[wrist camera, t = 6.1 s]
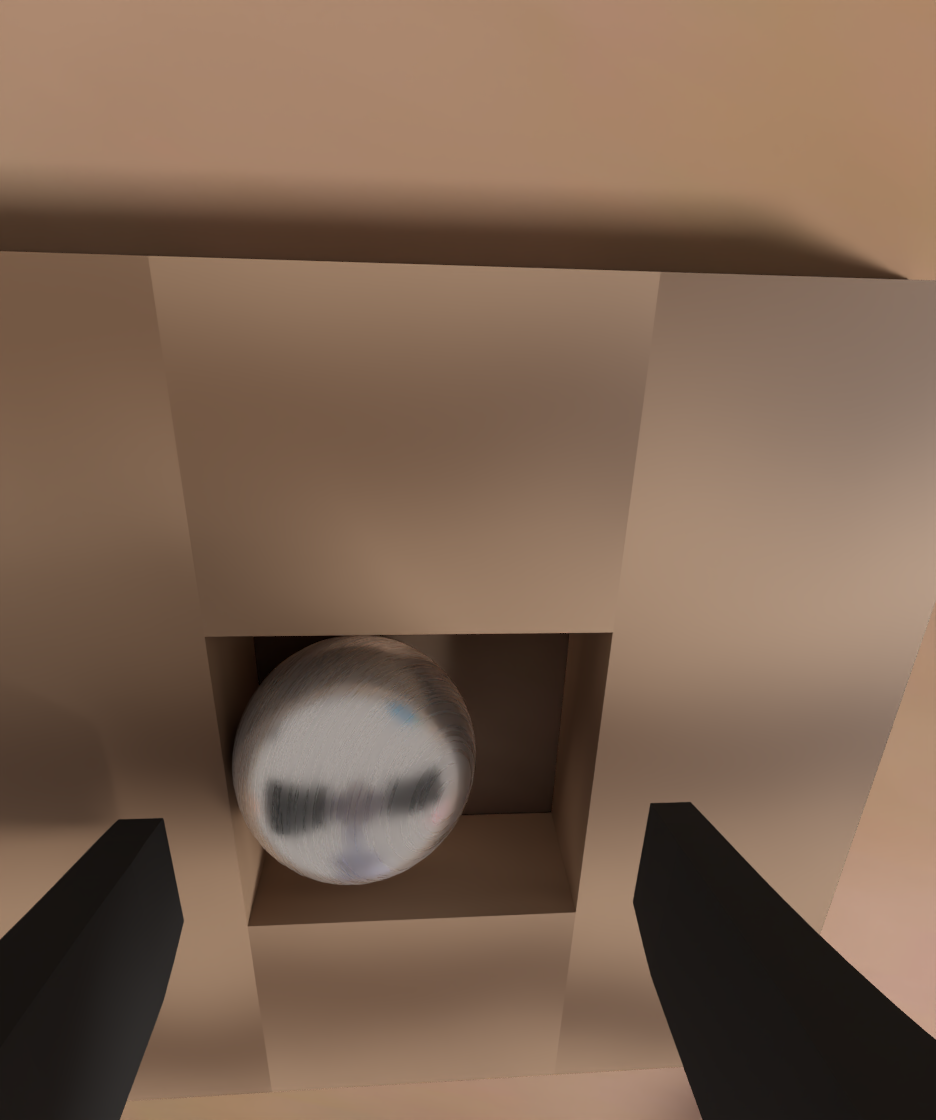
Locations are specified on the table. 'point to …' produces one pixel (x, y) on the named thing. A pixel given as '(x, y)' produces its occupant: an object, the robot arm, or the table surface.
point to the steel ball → (353, 759)
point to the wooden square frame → (451, 615)
